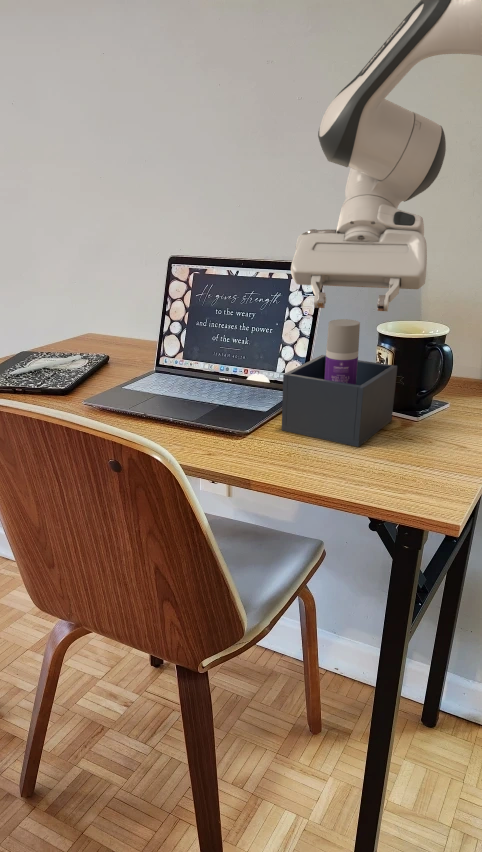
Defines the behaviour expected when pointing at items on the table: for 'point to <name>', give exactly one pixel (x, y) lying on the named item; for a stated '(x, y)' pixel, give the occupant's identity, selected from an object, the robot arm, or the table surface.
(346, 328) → the container
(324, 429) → the bin
